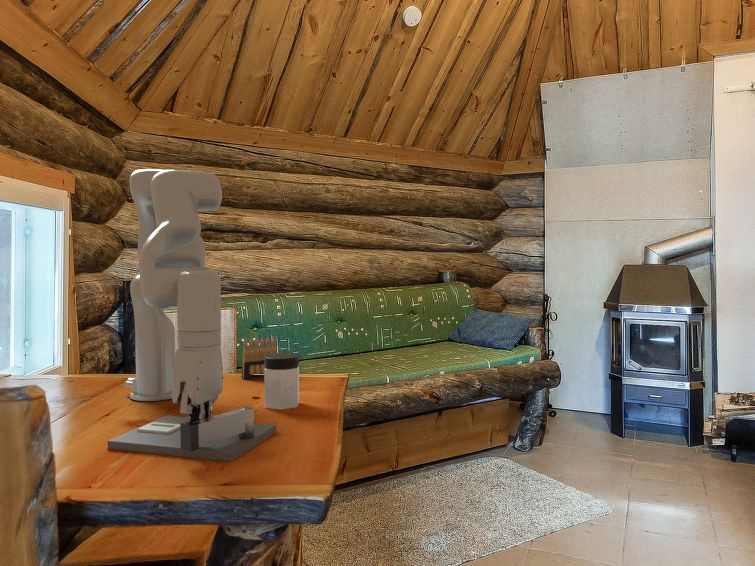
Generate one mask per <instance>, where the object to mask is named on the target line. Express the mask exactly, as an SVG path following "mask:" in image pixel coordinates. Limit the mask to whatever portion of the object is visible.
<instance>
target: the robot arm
mask: <svg viewBox="0 0 755 566" xmlns="http://www.w3.org/2000/svg"><path fill="white" fill-rule="evenodd" d="M129 192H130V195H131V197H132V200H133V203H134V206H135V209H136V211H137V214H138V228H137V229H138V232H137V233H138V234H137V235H138V236H137V256H138V257H137V258H138V274H137V275H136V276H134V277H133V278H132V280H131V282H130V286H129V289H130V290H129V291H130V298H131V302H132V303H131V304H132V308H133V316H134V335H135V338H134V339H135V340H134V341H135V377H128V378H127V380H126V381H125V382H124V386H125V387H130V388H132V391H131V392H130V393H129V398H130V399H132V400H134V401H139V402H158V401H166V400H172V403H173V404H175V405H180V408H179V414H183V415H184V414H185V415H187V417H188V418H190V422H194V421H198V420H201V419H205V418H208V417H212V414H213V405H214V403H215V402H217V400H218V399H219V396H220V395H221V393H222V392H223V390H224V389H223V388H224V387H223V386H224V370H223V369H224V367H223V365H224V364H223V356H222V348H221V347H222V313H221V311H222V309H221V308H222V306H221V305H222V304H221V303H222V302H221V301H222V299H221V298H222V295H221V294H222V293H221V291H222V285H221V282H222V281H221V277H220V276H221V275H220V273H218V272H217V271H215V270H214V269H213V268H212V267H208V266H206V246H205V243H204V239H203V237H202V236H200V234H201V232H202V231H201V230H202V225H201V222H200V216H199V212H200V211H202V212H203V211H204V212H205V211H206V212H214V211H217V210H218V209H219V208H220V206H221V203H222V200H223V190H222V185H221V182H220V180H219V178H218V177H217V175H216V174H214V173H213V172H209V171H196V170H184V169H183V170H182V169H152V168H145V169H137V170H135V171H133V172H132V173H131V174H130V177H129ZM198 211H199V212H198ZM168 310H176V319H177V320H176V321H177V325H176V328H177V330H176V328H175V324H174V322H173V321H172V320H171V318H170V317H168V315H166V313H165V312H164V311H168ZM176 331H177V332H176ZM176 333H177V334H176ZM176 335H177V337H176ZM176 338H177V339H176ZM176 340H177V341H176ZM176 342H177V348H176Z"/></svg>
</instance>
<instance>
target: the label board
mask: <svg viewBox="0 0 755 566" xmlns="http://www.w3.org/2000/svg"><path fill="white" fill-rule="evenodd" d="M184 422H190V418H188V416H187V417H186V416H176V415H174V416H173V415H165V416H162V417H160V418H157V419H155V420H153V421H150V422H148V423H145V424H144V425H141V426H139V427H137V428H134V429H131V430H129V431H127V432H125V433H122V434H120V435H118V436H116V437H115V436H114V437H113V438H111V439H108V440H107V449H109V450H115V451H116V450H117V451H118V450H119V451H128V452H135V453H136V452H137V453H147V454H154V455H155V454H156V455H164V456H166V455H167V456H175V457H183V458H192V459H193V458H194V459H203V460H211V461H213V460H214V461H222V462H234V461H235V460H237V459H238V458H239V457H241V456H243V455H244V454H246V453H247V452H248V451H250V450H252V449H253V448H254V447H257V445H260V444H261V443H262V442H264V441H265V440H266V439H268V438H270V437H271V436H273V435H274V434H276V433H277V424H272V423H261V422H260V423H259V422H254V436H253V437H249V438H240V437H238V434H237V435H234V436H231V437H228V438H225V439H222V440H219V441H216V442H213V443H209V444H206V445H203V446H200V447H199V449H198V450H195V451H192V452H191V451H187V450H184V449H181V434H180V423H184Z"/></svg>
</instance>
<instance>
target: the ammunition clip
mask: <svg viewBox="0 0 755 566" xmlns="http://www.w3.org/2000/svg"><path fill="white" fill-rule="evenodd" d="M248 343H249V344H248ZM265 344H266V345H265ZM277 351H278V349H277V341H276V337H275V335H273V336H272V338H271V339H270V336H269V335H268V336H266V341H265V339H264V336H261V339H260V342H259V338H258V337H257V336H256V338H255V340H253V338H252V337H250V339H249V342H248V340H247V338H246V337H245V338H244V340H243V347H242V362H241V363H242V364H241V366H242V367H241V380H244V381H246V380H255V379H254V378H256V379H263V378H262V377H264V375H254V374H264V369H265V356H266V355H269V354H276V353H277Z"/></svg>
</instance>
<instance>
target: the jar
mask: <svg viewBox="0 0 755 566" xmlns="http://www.w3.org/2000/svg"><path fill="white" fill-rule="evenodd" d="M265 355H266V354H265ZM299 363H300V357H299V354H297V353H291V352H290V353H289V352H278V353H276V354H269V355H266V356H265V369H264V378H263V379H264V381H263V382H264V385H263V386H264V387H263V391H264V400H263V401H264V408H265V409H270V410H271V409H272V410H277V411H278V410H279V411H281V410H283V411H285V410H288V409H295V408H298V407H299V404H300V364H299Z"/></svg>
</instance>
